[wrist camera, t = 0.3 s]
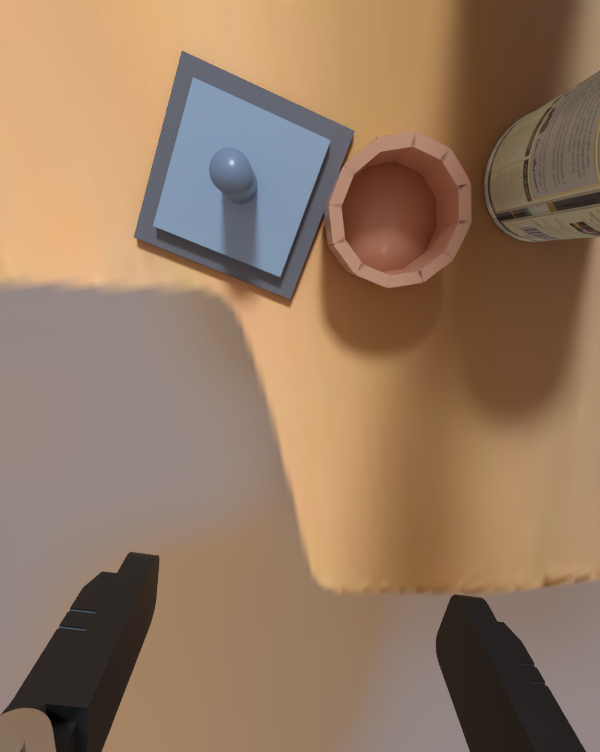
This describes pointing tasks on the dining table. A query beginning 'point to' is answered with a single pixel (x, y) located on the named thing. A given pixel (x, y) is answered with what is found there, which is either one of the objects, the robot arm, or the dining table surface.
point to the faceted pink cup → (398, 210)
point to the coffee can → (549, 170)
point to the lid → (239, 178)
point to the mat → (276, 106)
